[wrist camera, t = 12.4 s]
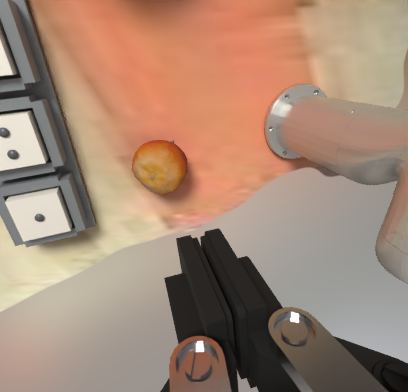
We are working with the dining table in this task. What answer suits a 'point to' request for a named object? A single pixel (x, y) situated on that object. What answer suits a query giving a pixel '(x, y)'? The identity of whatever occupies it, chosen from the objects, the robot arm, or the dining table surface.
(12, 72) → the three dot tile
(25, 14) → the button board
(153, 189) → the fruit
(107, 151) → the dining table surface
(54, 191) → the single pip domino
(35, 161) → the two dot tile
